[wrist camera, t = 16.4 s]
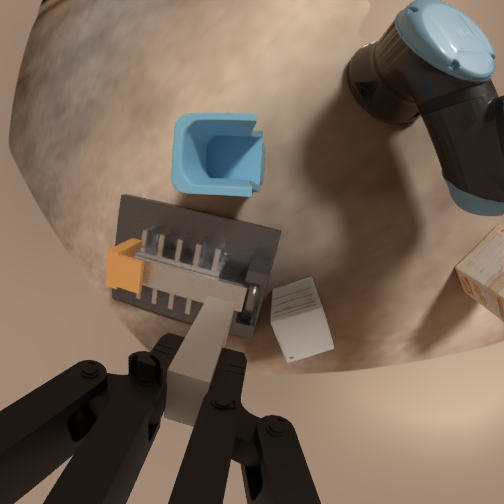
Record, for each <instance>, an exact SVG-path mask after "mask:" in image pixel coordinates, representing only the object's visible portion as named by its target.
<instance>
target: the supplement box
mask: <svg viewBox="0 0 504 504" xmlns="http://www.w3.org/2000/svg"><path fill="white" fill-rule="evenodd" d="M270 323H271V326H272V328H273V331H274V333H275V336H276V338H277V341H278V343H279V346H280V348H281V350H282V353H283V355H284V358H285V360H286V363H289V362H293V361H296V360H300V359H303V358H307V357H310V356H313V355H316V354H320V353H323V352H326V351H329V350H332V349H334V344H333V340H332V336H331V332H330V329H329V325H328V322H327V319H326V316H325V313H324V310H323V307H322V304H321V301H320V298H319V295H318V292H317V290H316V287H315V284H314V281H313V279H312V276H310V277H308V278H305V279H302V280H299V281H296V282H293V283H290V284H287V285H283V286H280V287H278V288H275V289H272V304H271V320H270Z"/></svg>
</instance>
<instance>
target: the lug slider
mask: <svg viewBox="0 0 504 504" xmlns="http://www.w3.org/2000/svg"><path fill="white" fill-rule="evenodd" d="M141 242H142V240H139V239H135V238H131V239H129V240H127V241H125V242H123V243H121V244H119V245H117V246H115V247H113V248H110V249H108V255H107V271H106V286H108V287H111V288H114V289H117V288H122V289H125V290H128V291H131V292H134V293H137V294H139V293H140V292H141V290H142V280H143V270H144V261H142V260H139V259H135V258H132V257H131V256H133V255H135V250H136V249H137V248H139V247H141Z"/></svg>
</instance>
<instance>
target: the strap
mask: <svg viewBox="0 0 504 504" xmlns="http://www.w3.org/2000/svg"><path fill="white" fill-rule="evenodd" d="M131 257H132V258H135V259H139V260H142V261H144V270H143V280H142V284H143V285H146V286H149V287H153V288H156V289H159V290H163V291H166V292H169V293H173V294H176V295H180V296H183V297H187V298H190V299H194V300H197V301H201V302H204V303H205V301H206V299H207V298H208V296H211V297H215V298H218V299H222V300H226V301H230V302H234V303H235V308H234V310H235V311H239V312H241V311H242V307H243V303H244V299H245V295H246V291H247V287H248V286H247V285H243V284H239V283H235V282H231V281H227V280H223V279H220V278H216V277H212V276H208V275H204V274H201V273H197V272H193V271H189V270H186V269H182V268H178V267H175V266H171V265H168V264H164V263H160V262H157V261H153V260H150V259H146V258H143V257H139V256H136V255H133V256H131ZM260 286H261V285H259V284H255V283H251V282H250V285H249V289H248V293H247V297H246V301H245V305H244V308H243V312H242V316H241V317H242V319H244V320H247V321H250V320H252V316H253V312H254V309H255V305H256V301H257V298H258V294H259V290H260Z"/></svg>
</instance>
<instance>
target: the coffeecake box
mask: <svg viewBox="0 0 504 504" xmlns="http://www.w3.org/2000/svg"><path fill="white" fill-rule="evenodd" d="M455 270H456V272H457V275H458V277H459V280H460V282H461V286H462V288H463V291H464V292H465V293H467V294H468V295H469V296H471V297H472V298H473V299H475V300H476V301H477V302H479V303H480V304H481V305H483V306H484V307H485V308H487V309H488V310H489V311H491V312H492V313H493V314H494V315H496V316H497V317H498V318H499V319H501V320H502V321H503V322H504V226H501V225H497V226H496V227H495V228H494V229H493V230H492V231H491V232H490V233H489V234H488V235H487V236H486V237H485V238H484V239H483V240H482V241H481V242H480V243H479V245H478V246H476V247H475V248H474V249H473V250H472V251H471V252H470V253H469V254H468V255H467V256H466V257H465V258H464V259H463V260H462V261H461V262H460V263H459V264H458V265H456V266H455Z"/></svg>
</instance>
